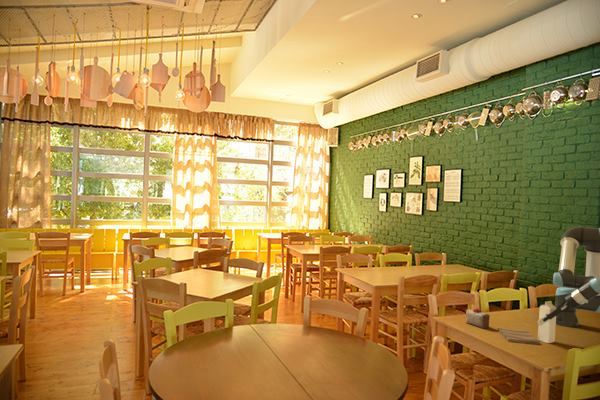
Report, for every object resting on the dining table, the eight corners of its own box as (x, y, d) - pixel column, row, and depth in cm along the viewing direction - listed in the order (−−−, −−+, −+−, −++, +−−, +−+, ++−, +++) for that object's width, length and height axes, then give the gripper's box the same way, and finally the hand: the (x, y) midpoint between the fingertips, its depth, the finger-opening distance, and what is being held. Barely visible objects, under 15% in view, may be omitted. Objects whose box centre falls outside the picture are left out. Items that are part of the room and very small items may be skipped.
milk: (554, 342, 238) (557, 302, 237) (548, 343, 235) (551, 303, 234) (543, 338, 243) (546, 299, 243) (537, 339, 240) (540, 300, 240)
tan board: (497, 330, 254) (497, 327, 254) (526, 333, 252) (526, 330, 252) (507, 341, 235) (508, 338, 235) (539, 344, 232) (539, 341, 232)
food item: (463, 322, 266) (464, 306, 266) (471, 321, 271) (472, 305, 270) (482, 329, 255) (483, 312, 255) (491, 327, 259) (492, 311, 259)
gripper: (578, 308, 221) (541, 332, 231) (584, 302, 236) (548, 324, 247) (567, 296, 224) (530, 319, 235) (573, 290, 240) (539, 313, 250)
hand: (540, 322), depth 241 cm, fingers closed on milk, 8 cm apart
